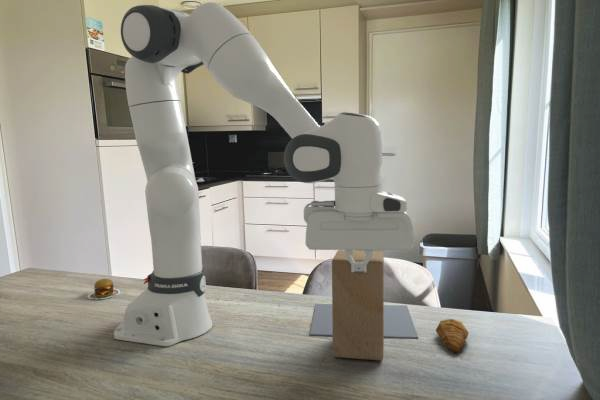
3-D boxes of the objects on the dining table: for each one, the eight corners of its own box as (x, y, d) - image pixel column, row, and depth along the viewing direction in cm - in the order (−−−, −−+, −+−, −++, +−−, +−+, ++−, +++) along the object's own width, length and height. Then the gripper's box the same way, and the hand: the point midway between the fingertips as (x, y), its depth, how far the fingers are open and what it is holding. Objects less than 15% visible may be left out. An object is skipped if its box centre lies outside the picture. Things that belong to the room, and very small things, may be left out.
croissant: (434, 326, 98) (434, 306, 97) (464, 328, 96) (465, 308, 96) (437, 354, 85) (437, 331, 85) (472, 358, 83) (473, 334, 83)
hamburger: (77, 296, 125) (75, 279, 125) (118, 287, 133) (117, 270, 132) (87, 308, 116) (85, 289, 115) (131, 297, 124) (129, 279, 123)
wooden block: (383, 361, 81) (383, 261, 80) (332, 357, 83) (331, 259, 82) (383, 340, 91) (383, 250, 90) (338, 337, 93) (337, 249, 92)
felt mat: (309, 335, 94) (309, 334, 94) (316, 304, 112) (315, 303, 112) (418, 338, 92) (418, 337, 92) (406, 306, 109) (406, 305, 109)
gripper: (301, 203, 76) (303, 276, 78) (415, 202, 74) (415, 277, 76) (305, 198, 82) (306, 266, 84) (410, 197, 80) (410, 267, 82)
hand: (358, 271), depth 80 cm, fingers closed
